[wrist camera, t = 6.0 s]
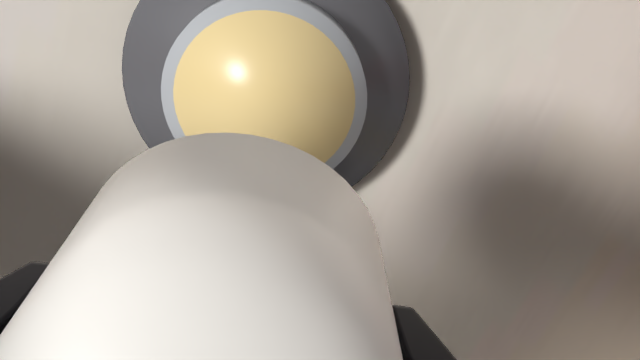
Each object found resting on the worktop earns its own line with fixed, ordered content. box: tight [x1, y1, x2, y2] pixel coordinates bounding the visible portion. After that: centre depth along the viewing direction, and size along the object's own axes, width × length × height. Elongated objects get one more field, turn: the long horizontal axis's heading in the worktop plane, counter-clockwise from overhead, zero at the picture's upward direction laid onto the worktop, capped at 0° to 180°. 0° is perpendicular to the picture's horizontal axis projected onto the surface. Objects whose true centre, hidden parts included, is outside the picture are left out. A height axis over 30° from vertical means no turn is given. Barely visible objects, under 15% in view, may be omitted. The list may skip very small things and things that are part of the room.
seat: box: [122, 0, 410, 186], centre depth 18 cm, size 10×10×2 cm
